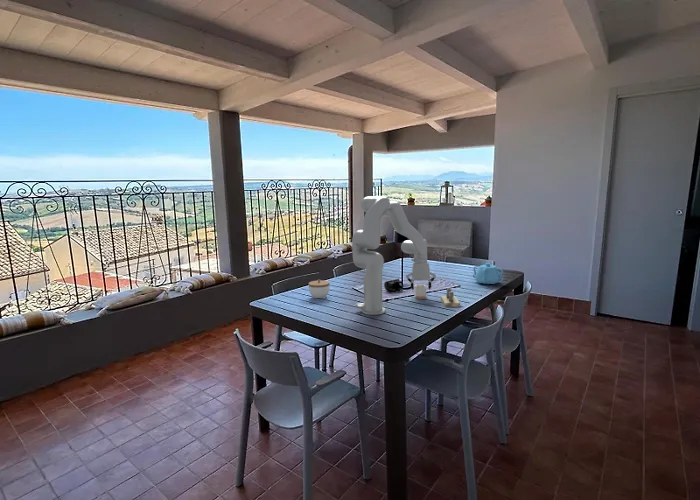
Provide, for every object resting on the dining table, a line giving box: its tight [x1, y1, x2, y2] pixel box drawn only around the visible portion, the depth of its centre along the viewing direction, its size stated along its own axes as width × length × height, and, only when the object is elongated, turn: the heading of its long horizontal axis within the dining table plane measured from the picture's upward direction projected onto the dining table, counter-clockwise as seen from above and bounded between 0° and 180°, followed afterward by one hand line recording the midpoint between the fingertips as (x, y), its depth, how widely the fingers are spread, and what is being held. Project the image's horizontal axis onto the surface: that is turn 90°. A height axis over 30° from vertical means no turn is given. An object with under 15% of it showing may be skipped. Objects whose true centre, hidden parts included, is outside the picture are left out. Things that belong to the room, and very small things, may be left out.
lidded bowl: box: [308, 279, 331, 299], centre depth 219 cm, size 13×13×11 cm
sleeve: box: [414, 284, 427, 300], centre depth 214 cm, size 6×6×7 cm
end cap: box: [383, 278, 404, 293], centre depth 231 cm, size 10×7×7 cm
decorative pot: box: [472, 262, 504, 285], centre depth 242 cm, size 16×16×14 cm
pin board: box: [440, 287, 461, 308], centre depth 201 cm, size 8×14×7 cm, turn 175°
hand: (421, 289), depth 214 cm, fingers open, 9 cm apart
